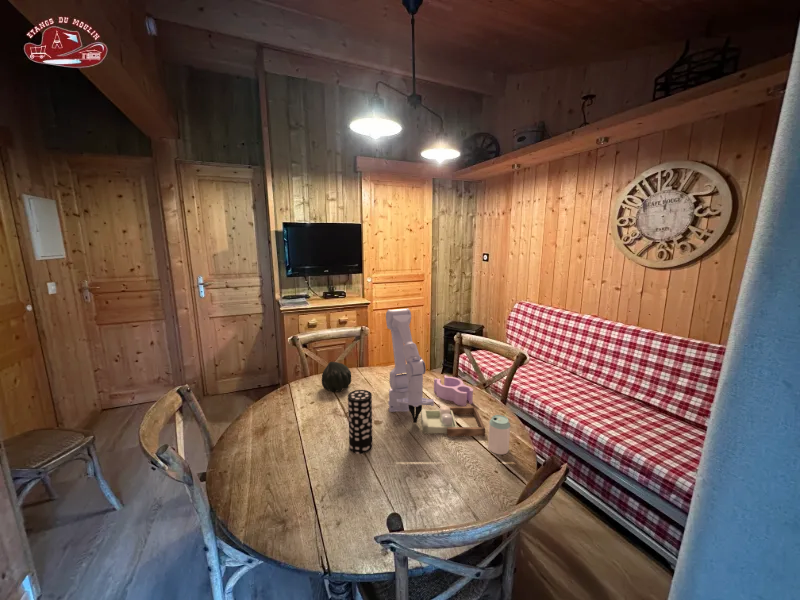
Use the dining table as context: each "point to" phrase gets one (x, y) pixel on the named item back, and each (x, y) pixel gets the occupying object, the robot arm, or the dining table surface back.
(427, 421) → the tray
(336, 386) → the squash
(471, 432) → the rack
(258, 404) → the dining table surface
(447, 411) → the pale pink cylinder
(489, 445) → the can
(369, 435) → the spotted tube
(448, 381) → the clip
